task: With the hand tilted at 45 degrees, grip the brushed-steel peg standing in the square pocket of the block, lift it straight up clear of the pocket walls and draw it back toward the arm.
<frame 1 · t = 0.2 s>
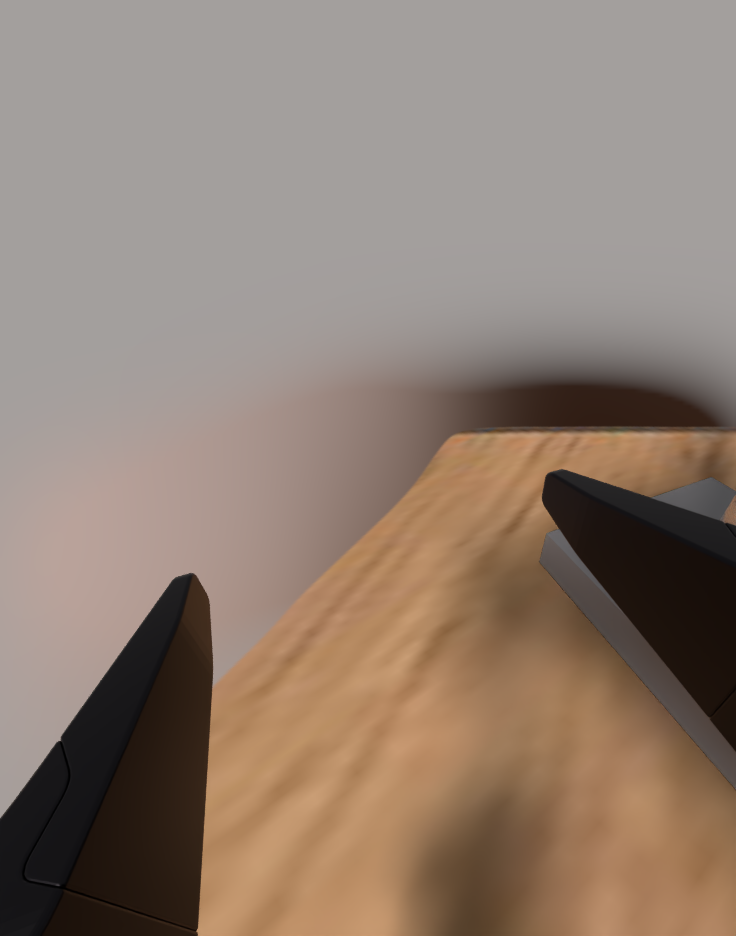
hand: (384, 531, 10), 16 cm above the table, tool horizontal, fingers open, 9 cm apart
pocket block: (712, 611, 24), on the table
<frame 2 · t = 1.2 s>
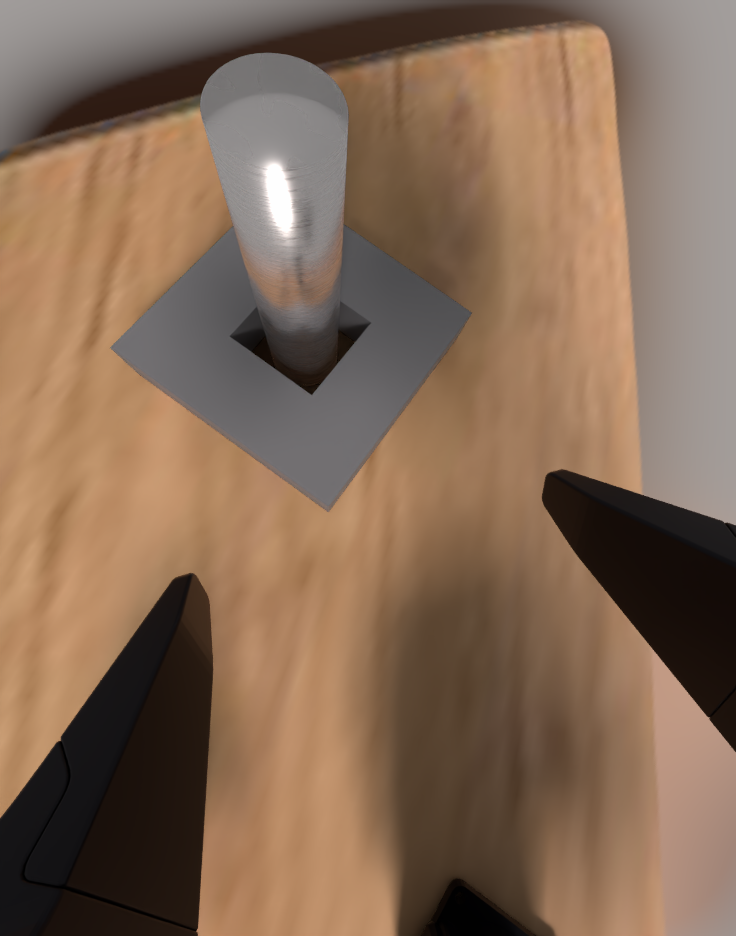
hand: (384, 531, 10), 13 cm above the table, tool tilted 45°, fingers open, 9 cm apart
pocket block: (305, 355, 24), on the table
steel peg: (296, 280, 17), in the pocket block
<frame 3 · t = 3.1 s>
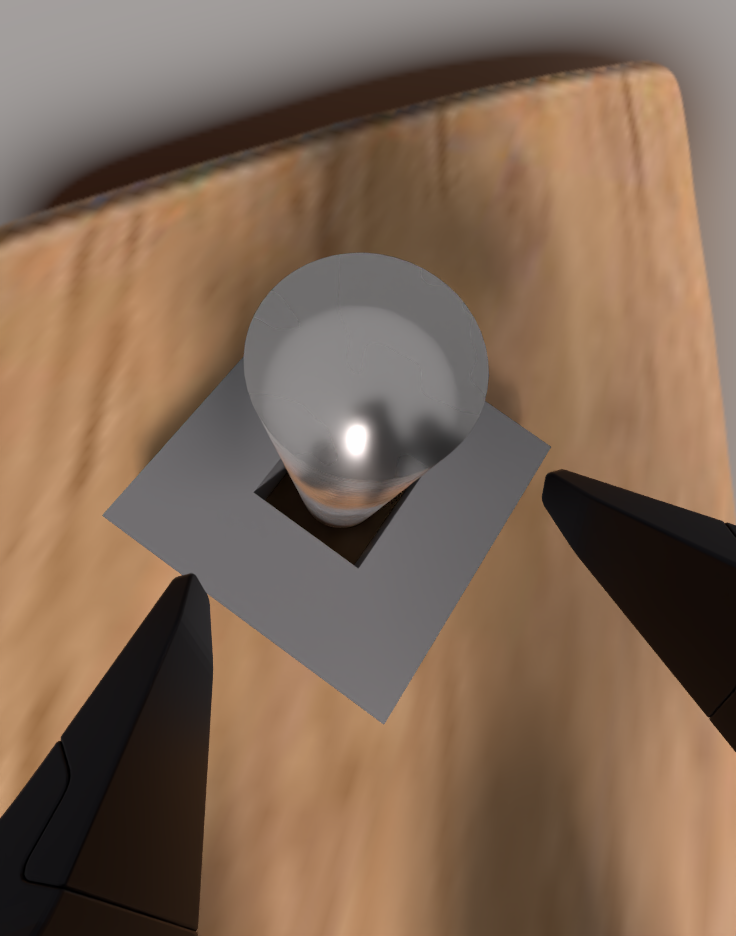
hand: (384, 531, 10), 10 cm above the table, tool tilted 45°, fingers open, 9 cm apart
pocket block: (341, 488, 20), on the table
steel peg: (348, 457, 13), in the pocket block
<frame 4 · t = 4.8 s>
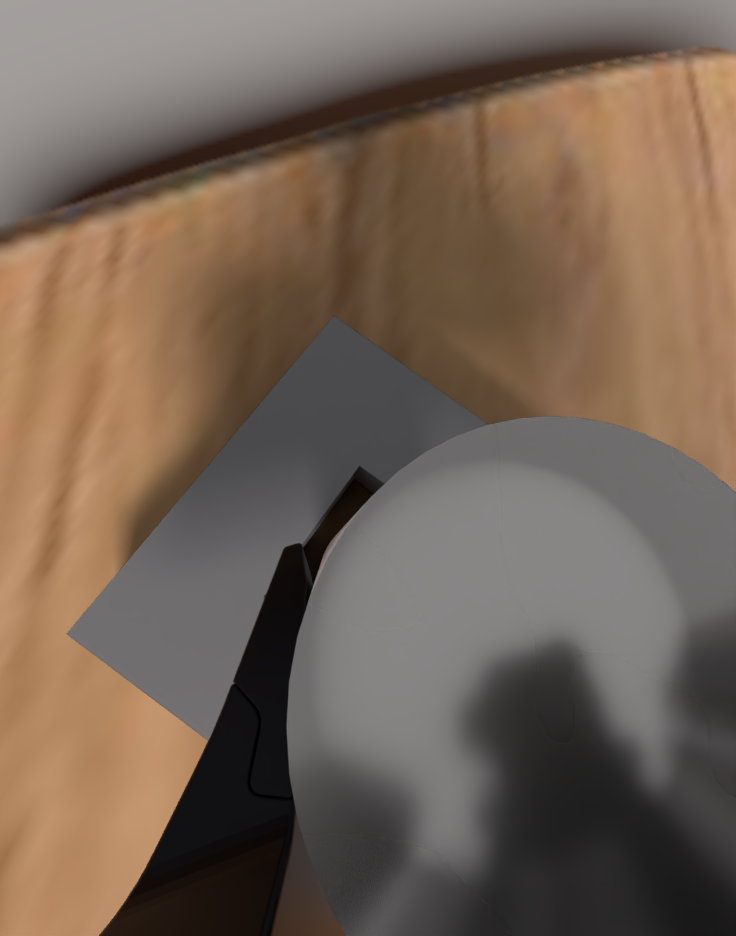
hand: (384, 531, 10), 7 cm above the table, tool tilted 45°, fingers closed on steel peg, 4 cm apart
pocket block: (369, 569, 16), on the table
steel peg: (399, 587, 9), in the pocket block, touching gripper
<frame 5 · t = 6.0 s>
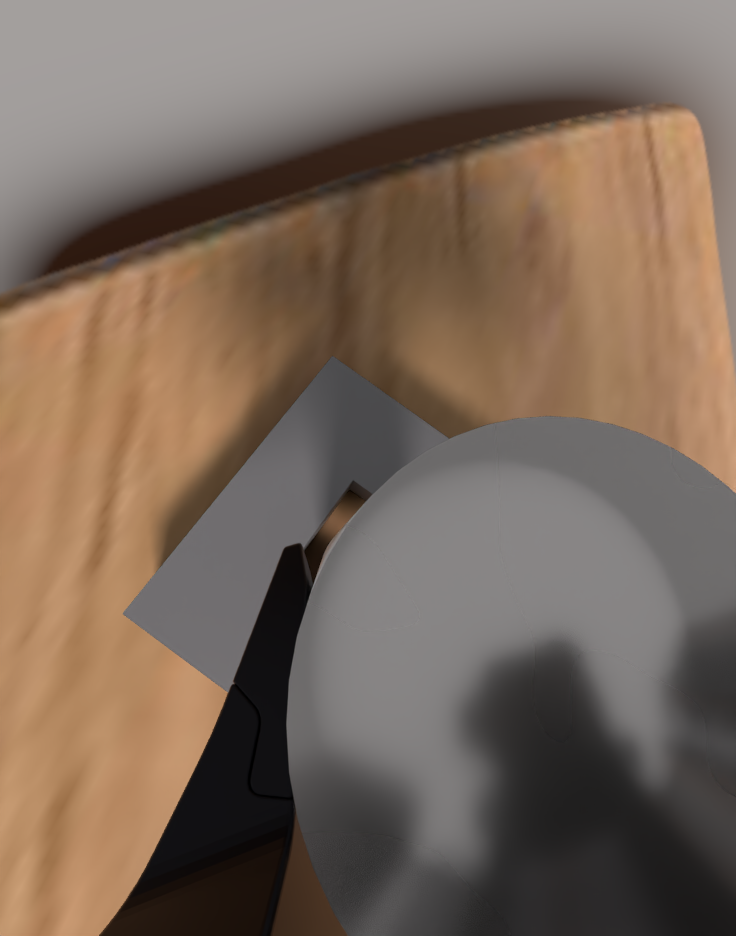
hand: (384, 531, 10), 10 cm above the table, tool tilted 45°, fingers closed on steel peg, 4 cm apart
pocket block: (361, 564, 20), on the table
steel peg: (399, 587, 9), point 10 cm above the table, touching gripper
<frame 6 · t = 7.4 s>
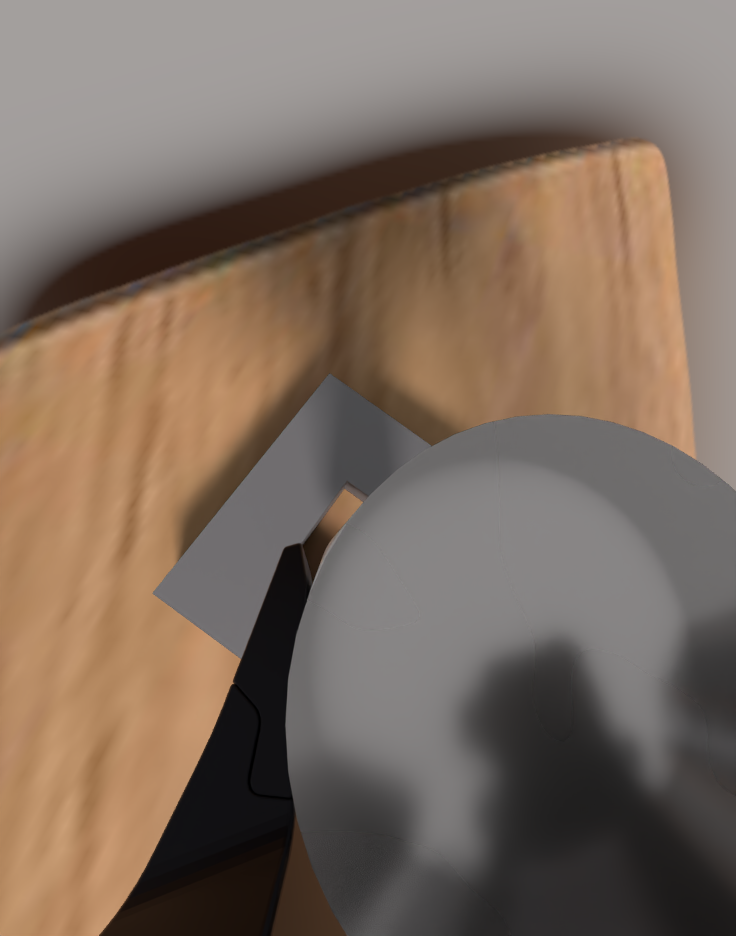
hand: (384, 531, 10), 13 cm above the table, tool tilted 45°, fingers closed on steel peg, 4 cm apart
pocket block: (355, 554, 22), on the table
steel peg: (399, 586, 9), point 13 cm above the table, touching gripper
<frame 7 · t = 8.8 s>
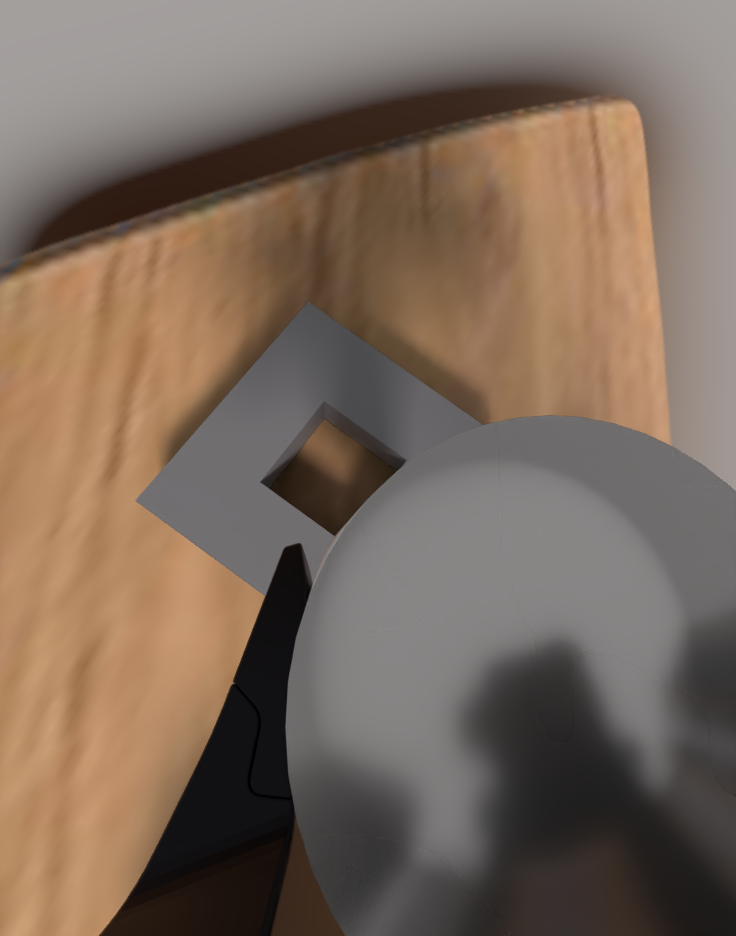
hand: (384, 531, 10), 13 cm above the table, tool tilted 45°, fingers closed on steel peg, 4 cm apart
pocket block: (334, 479, 23), on the table
steel peg: (399, 587, 9), point 13 cm above the table, touching gripper
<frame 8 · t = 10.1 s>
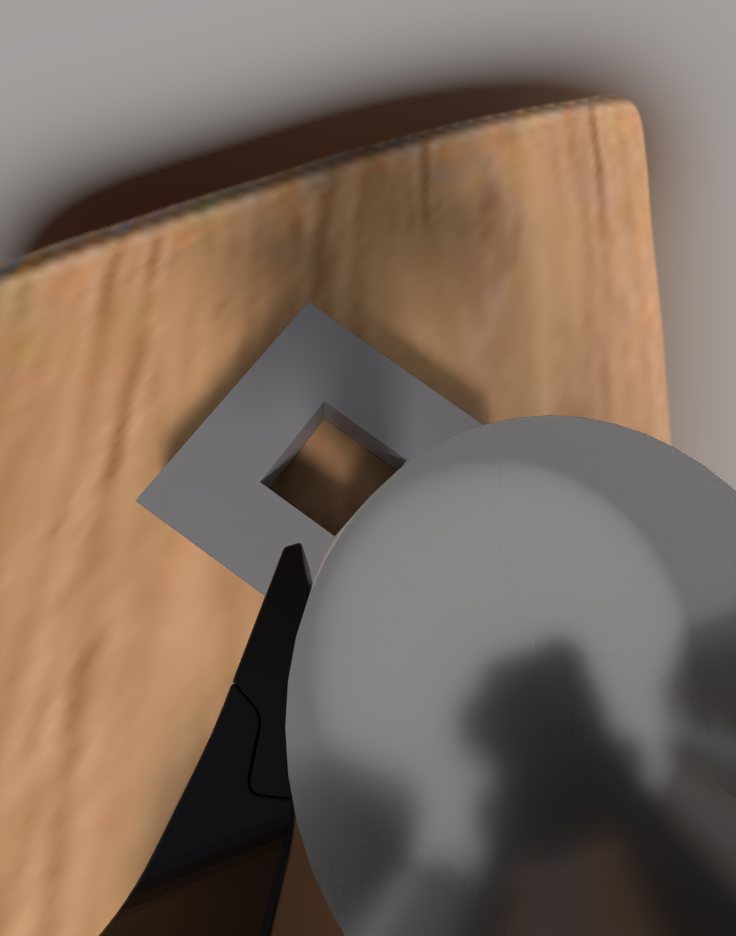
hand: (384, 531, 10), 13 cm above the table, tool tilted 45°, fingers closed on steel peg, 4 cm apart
pocket block: (334, 479, 23), on the table
steel peg: (399, 587, 9), point 13 cm above the table, touching gripper
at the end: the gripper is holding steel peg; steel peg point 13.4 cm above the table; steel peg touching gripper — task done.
